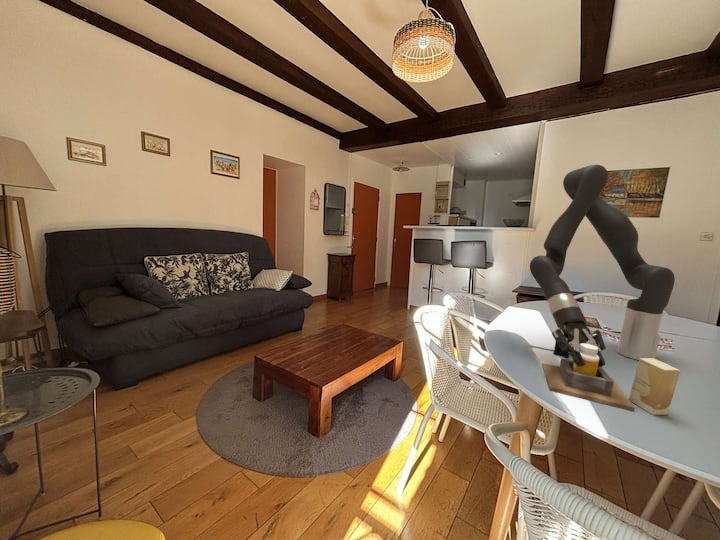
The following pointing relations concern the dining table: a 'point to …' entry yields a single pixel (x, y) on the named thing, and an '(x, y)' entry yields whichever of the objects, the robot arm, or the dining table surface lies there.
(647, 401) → the skincare box
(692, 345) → the dining table surface
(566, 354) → the battery
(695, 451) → the dining table surface
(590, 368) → the supplement bottle
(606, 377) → the walnut holder board
